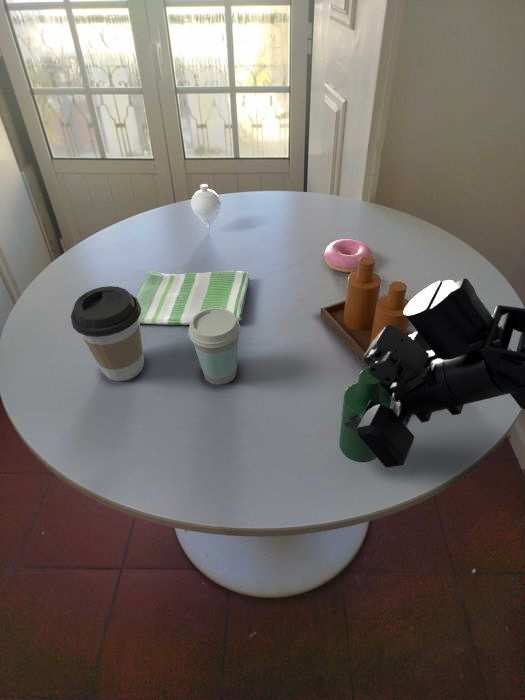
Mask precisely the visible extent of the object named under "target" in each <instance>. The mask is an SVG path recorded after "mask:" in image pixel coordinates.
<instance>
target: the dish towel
mask: <svg viewBox="0 0 525 700" xmlns="http://www.w3.org/2000/svg"><path fill="white" fill-rule="evenodd" d="M249 276H250V274H249V272H246V271H243V270H238V271H237V270H234V271H209V272H208V271H207V272H190V273H182V274H177V273H176V274H175V273H162V272H157V271H153V270H149V271H147V272H146V275H145V278H144V281H143V285H142V287H141V288H140V290H139V292H138V294H137V296H135V297H136V298H137V300H138V302H139V304H140V306H141V314H140V316H139V320H140V324H144V325H145V324H148V325H170V326H174V325H177V326H180V325H185V326H188V325H189V326H190V324H191V320H192V318H193V317H194V316H195V315H196V314H197V313H199V312H200V311H202V310H205V309H209V308H223V309H226V310H229V311H230V312H232V313H233V314H234V315H235V317H236V319H237V320H238V322H240V321H242V320H243V313H244V308H245V302H246V298H247V292H248V287H249V283H250V277H249Z"/></svg>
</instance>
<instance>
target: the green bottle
mask: <svg viewBox="0 0 525 700" xmlns="http://www.w3.org/2000/svg"><path fill="white" fill-rule="evenodd" d="M370 400H372V401H373V402H374V403H375V405H380V404H381V405H383V406H386V407H389V408H391V405H392V396H390V395H389V393H388V391H387V390H386V389H385V388H383V387H382V386H381V382H380V381H379V380H377V379H376V378H375V377H373V376H372V375H370V374H369V372H368V368H364V369H362V370H361V371H360V372H359V374H358V380H357V382H355V383H352V384H350V385H349V386H348V387H347V388H346V389H345V391H344V394H343V401H342V411H341V420H340V421H341V422H340V429H339V442H338V445H339V449H340V451H341V453H342V454H343V455H344V456H345V457H346V458H347V459H349V460H351V461H353V462H357V463H369V462H372V461H374V460H376V459H378V458H377V457H376V456H375V455H374V453H373V452H372V451H371V450H370V449H369V448H368V446H367V445H366V444H365V443H364V442H363V441H362V439H361V438H360V437H359V436H358V432H356V431H353V430H350V429H348V428H347V427H346V426H345V425H344V422H345V421H347V420H348V419H350V418H352V417H355V416H357V415H359V414H362V413H364V411H365V409H366V407H367V405H368V403H369V401H370Z"/></svg>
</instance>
